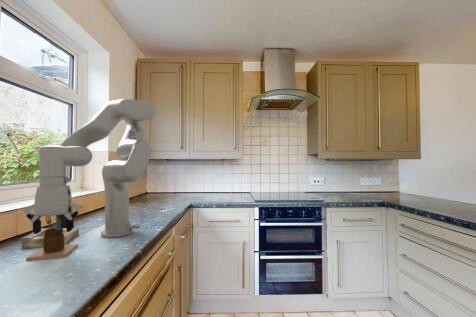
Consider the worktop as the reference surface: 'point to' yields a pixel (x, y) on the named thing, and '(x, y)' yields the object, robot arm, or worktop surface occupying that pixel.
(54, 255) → the terracotta tile
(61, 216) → the supplement bottle
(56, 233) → the utensil holder
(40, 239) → the wooden tray
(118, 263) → the worktop surface
